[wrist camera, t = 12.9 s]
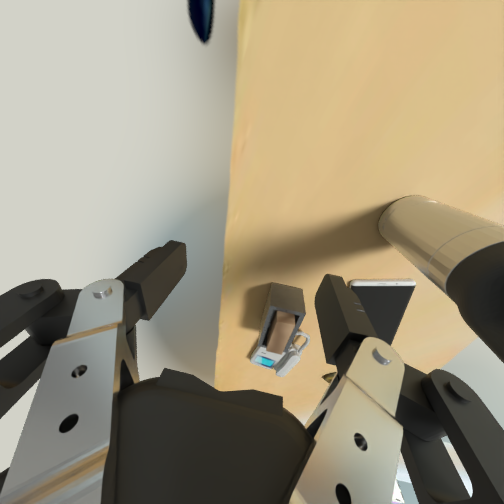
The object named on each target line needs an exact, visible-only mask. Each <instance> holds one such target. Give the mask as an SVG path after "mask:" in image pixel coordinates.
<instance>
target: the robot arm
mask: <svg viewBox="0 0 504 504" xmlns="http://www.w3.org/2000/svg"><path fill="white" fill-rule="evenodd" d="M378 229H379V232H380V234H381V235H382V237H384V238H385V239H386V240H387V241H388V242H389V243H390V244H391V245H392V246H393V247H394V248H395V249H397V250H398V251H399V252H400V253H401V254H402V255H403V256H404V257H405V258H406V259H408V260H409V261H410V262H411V263H412V264H413V265H414V266H415V267H416V268H417V269H418V270H420V271H421V272H422V273H423V274H424V275H425V276H426V277H427V278H428V279H429V280H431V281H432V282H433V283H434V284H435V285H436V286H437V287H438V288H439V289H441V290H442V291H443V292H444V293H445V294H446V295H447V296H448V297H449V298H450V299H451V300H453V301H454V302H455V303H456V304H457V306H458V309H459V312H460V314H461V316H462V318H463V319H464V321H465V322H466V323H467V325H468V326H469V327H470V328H471V329H472V330H473V331H474V332H475V333H476V334H477V335H478V336H479V337H480V339H482V341H483V342H484V343H485V344H486V345H487V346H488V347H489V348H490V349H491V350H492V351H493V352H494V353H495V354H496V355H497V357H498V358H499V359H500V360H501V361H502V362H503V363H504V226H503V225H501V224H498V223H495V222H492V221H490V220H487V219H484V218H481V217H479V216H476V215H473V214H470V213H468V212H465V211H462V210H459V209H457V208H454V207H451V206H449V205H446V204H443V203H441V202H438V201H435V200H432V199H430V198H427V197H424V196H408V197H405V198H402V199H399V200H398V201H396V202H394V203H393V204H391V205H390V206H389V207H388V208H387V209H386V210H385V211H384V212H383V214H382V215H381V217H380V220H379V224H378ZM186 268H187V259H186V245H185V243H182V242H177V241H173V240H171V241H169V242H168V243H167V244H165V245H164V246H163V247H158V248H155V249H153V250H151V251H149V252H148V253H147V254H145V255H144V257H142V258H140V259H139V260H138V262H135V263H134V264H133V265H132V266H130V267H129V268H128V269H127V270H125V271H124V272H123V273H122V274H120V275H119V276H118V277H117V278H115V279H103V280H99V281H96V282H94V283H92V284H89V285H88V286H86V287H85V288H84V289H70V290H62V289H61V287H60V285H59V283H58V282H57V281H55V280H51V279H41V280H35V281H30V282H27V283H24V284H22V285H19V286H17V287H15V288H13V289H11V290H9V291H8V292H6V293H4V294H2V295H1V296H0V347H2V346H3V345H5V344H6V343H7V342H8V341H10V340H11V339H13V338H14V337H15V336H17V335H18V334H19V333H20V332H22V331H23V330H24V329H25V330H26V331H27V332H28V334H29V335H30V337H28V338H27V339H26V340H25V341H23V342H22V343H21V344H20V345H18V346H17V347H16V348H15V349H13V350H12V351H11V352H10V353H8V354H7V355H6V356H5V357H4V358H2V359H1V360H0V419H1V418H2V416H3V415H5V414H6V413H7V411H8V410H9V409H10V408H11V407H12V406H13V405H14V404H15V403H16V402H17V401H18V400H19V399H20V398H21V397H22V396H23V395H24V394H25V393H26V392H27V391H28V390H29V389H30V388H31V387H32V386H33V385H34V384H35V383H36V382H37V380H39V379H40V381H39V384H38V387H37V390H36V393H35V395H34V399H33V402H32V404H31V407H30V410H29V413H28V416H27V419H26V422H25V424H24V427H23V430H22V433H21V436H20V439H19V442H18V445H17V448H16V451H15V453H14V457H13V459H12V462H11V465H10V467H9V468H7V469H6V470H4V471H3V472H1V473H0V504H391V503H392V497H393V491H394V485H395V479H396V473H397V467H398V461H399V455H400V451H401V453H402V456H403V459H404V462H405V465H406V468H407V471H408V473H409V476H410V479H411V482H412V485H413V488H414V491H415V494H416V496H417V499H418V502H419V504H504V430H503V429H502V427H501V426H500V425H499V423H498V422H497V421H496V419H495V418H494V417H493V415H492V414H491V412H490V411H489V410H488V408H487V407H486V406H485V404H484V403H483V402H482V400H481V399H480V398H479V397H478V395H477V394H476V393H475V392H474V391H473V390H472V389H471V388H470V387H469V386H468V385H467V384H466V383H465V382H463V381H462V380H461V379H459V378H458V377H456V376H455V375H453V374H451V373H449V372H447V371H444V370H440V369H435V370H433V371H432V372H430V373H429V374H428V375H427V374H425V373H423V372H421V371H419V370H417V369H415V368H413V367H411V366H409V365H407V364H405V363H403V361H402V359H401V357H400V356H399V354H398V353H397V352H396V351H395V350H394V349H393V348H392V347H391V346H390V345H388V344H387V343H386V342H384V341H382V340H380V339H379V338H378V336H377V334H376V332H375V330H374V328H373V326H372V324H371V322H370V320H369V318H368V316H367V314H366V313H365V310H364V308H363V306H362V305H361V302H360V300H359V298H358V296H357V295H356V294H355V293H354V292H353V291H352V290H351V289H350V288H348V287H346V284H345V282H344V280H343V278H342V277H340V276H336V275H331V274H326V275H325V276H324V278H323V280H322V282H321V284H320V287H319V289H318V291H317V293H316V295H315V309H316V314H317V318H318V323H319V328H320V333H321V338H322V343H323V348H324V353H325V358H326V363H328V364H332V365H336V367H337V373H336V374H335V375H334V377H333V379H332V381H331V383H330V384H329V386H328V388H327V390H326V391H325V393H324V395H323V397H322V399H321V400H320V402H319V404H318V406H317V407H316V409H315V411H314V412H313V414H312V415H311V416H310V418H309V419H308V421H307V422H306V424H305V426H303V424H302V423H301V422H300V421H299V420H298V419H297V418H296V417H295V416H294V415H293V414H292V413H290V412H289V411H288V410H286V409H285V408H283V397H281V396H277V395H273V394H269V393H265V392H261V391H257V390H239V391H225V392H221V391H218V390H216V389H215V388H213V387H212V386H210V385H208V384H207V383H205V382H204V381H202V380H200V379H199V378H197V377H195V376H194V375H191V374H187V373H183V372H179V371H175V370H171V369H167V368H164V370H163V371H162V373H161V375H160V377H155V378H150V379H146V380H143V381H140V380H139V374H138V367H137V344H136V343H137V342H136V325H135V324H136V323H137V322H138V320H139V319H143V320H148V321H149V320H150V319H151V318H152V316H153V315H154V314H155V312H156V311H157V310H158V308H159V307H160V306H161V304H162V303H163V302H164V301H165V299H166V298H167V297H168V295H169V294H170V293H171V291H172V290H173V289H174V287H175V286H176V285H177V283H178V282H179V281H180V280H181V278H182V277H183V276H184V274H185V272H186ZM444 436H448V438H449V440H450V442H451V443H452V445H453V447H454V449H455V451H456V453H457V455H458V457H459V459H460V460H461V462H462V464H463V466H464V468H465V470H466V472H467V474H468V476H469V478H470V480H471V483H472V488H473V494H472V497H471V498H470V496H469V494H468V492H467V490H466V488H465V486H464V484H463V482H462V480H461V478H460V476H459V474H458V472H457V470H456V468H455V466H454V464H453V462H452V460H451V458H450V456H449V454H448V452H447V450H446V448H445V446H444V444H443V442H442V440H441V438H442V437H444Z"/></svg>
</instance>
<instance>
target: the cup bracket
mask: <svg viewBox="0 0 504 504" xmlns="http://www.w3.org/2000/svg"><path fill="white" fill-rule="evenodd" d="M275 310H277V311H282V312H286V313H290V314H294V315H295V327H294V329H293V331H292V333H291V336H290V338H289V340H288V342H287V344H286V346H285V349H284V351H283V352H285V353H287V352H288V350H289V348H290V346H291V343H292V341H293V339H294V337H295V335H296V333H297V331H298V329H299V327H300V325H301V323H302V321H303V319H304V316H305V314H306V312H305V304H304V297H303V290H302V289H300V288H296V287H291V286H287V285H282V284H278V283H273V282H272V284H271V287H270V291H269V294H268V298H267V301H266V305H265V308H264V311H263V315H262V318H261V323H260V331H259V339H258V346H259V347H264V348H266V346H267V334H268V331H269V328H270V325H271V322H272V319H273V316H274V313H275Z"/></svg>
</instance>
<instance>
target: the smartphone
mask: <svg viewBox="0 0 504 504" xmlns="http://www.w3.org/2000/svg"><path fill="white" fill-rule="evenodd" d="M415 286H416V282H415V281H414V280H412V279H363V280H352V281H351V282H350V289H351V290H352V291H353V292H354V293H355V294H356V295H357V296H358V298H359V300H360V302H361V305H362V306H363V308H364V310H365V313H366V314H367V316H368V318H369V320H370V322H371V324H372V326H373V328H374V330H375V332H376V334H377V336H378V338H379V339H380V340H382V341H384V342H386V343H387V344H388V345H390V346H391V344H392V341H393V339H394V337H395V334H396V332H397V329H398V327H399V325H400V322H401V320H402V317H403V315H404V312H405V310H406V308H407V305H408V303H409V300H410V298H411V295H412V293H413V291H414V288H415Z"/></svg>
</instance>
